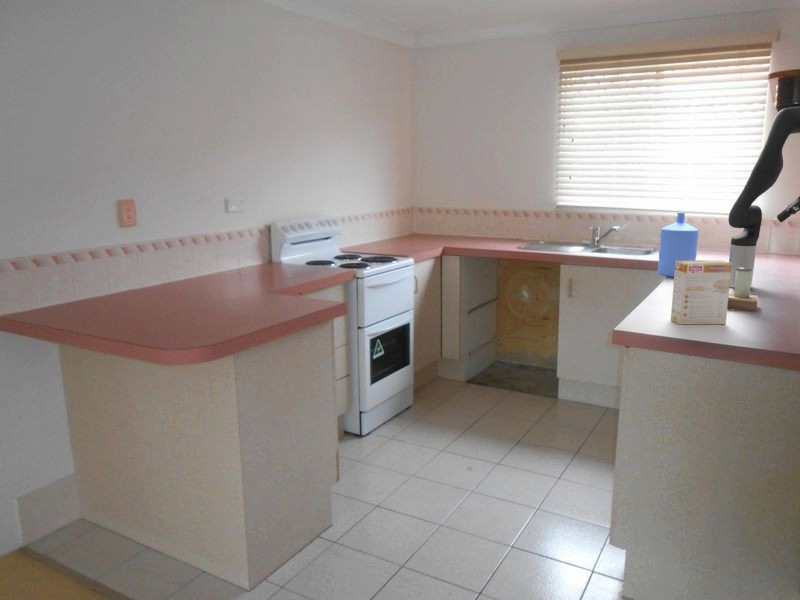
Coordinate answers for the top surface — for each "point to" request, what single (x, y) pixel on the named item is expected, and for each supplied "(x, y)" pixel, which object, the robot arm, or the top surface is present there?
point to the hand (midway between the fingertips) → (778, 219)
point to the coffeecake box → (701, 291)
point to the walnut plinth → (742, 303)
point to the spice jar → (742, 282)
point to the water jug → (676, 245)
